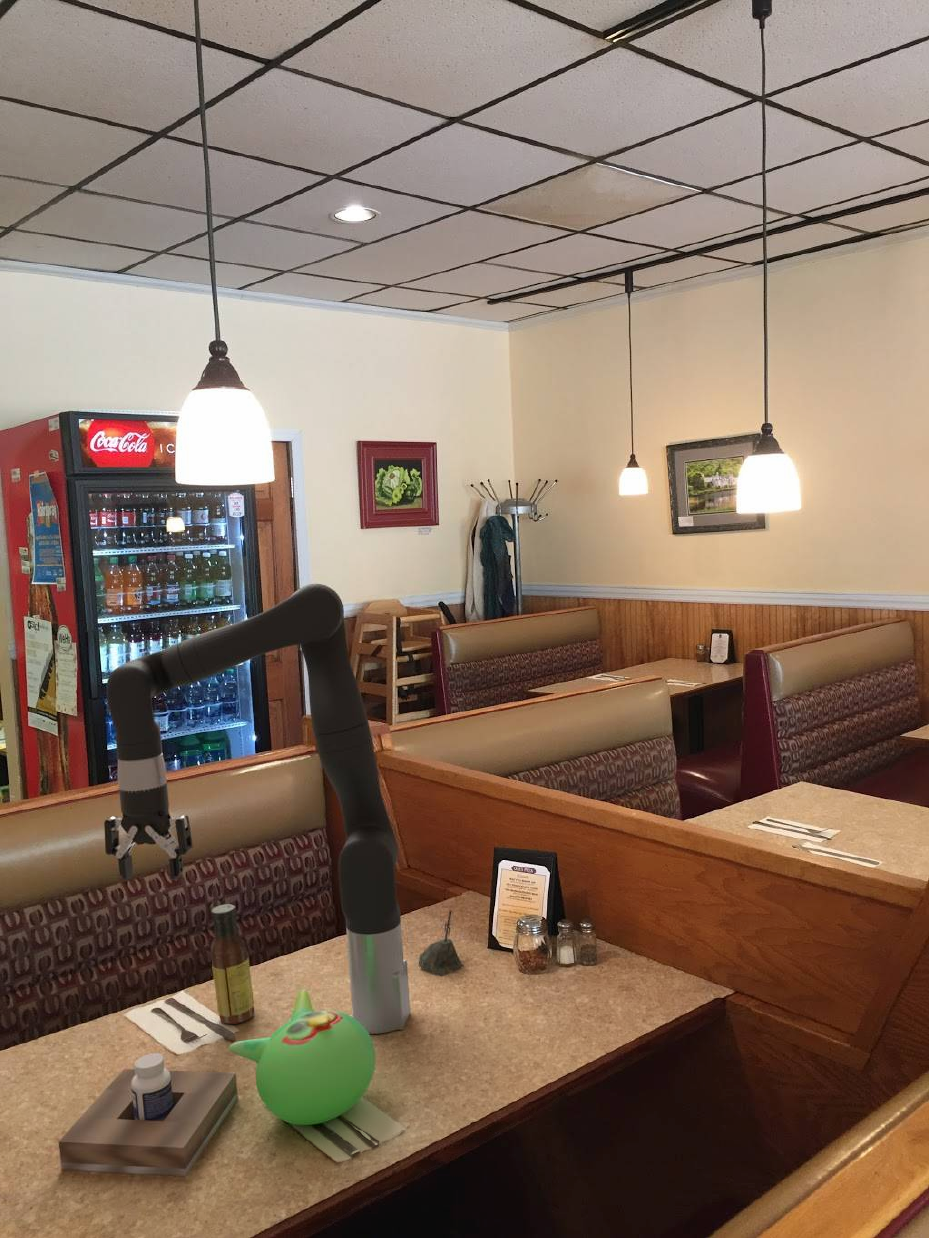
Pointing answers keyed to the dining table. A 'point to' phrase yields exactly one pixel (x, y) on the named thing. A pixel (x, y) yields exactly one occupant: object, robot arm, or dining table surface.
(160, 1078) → the pill bottle
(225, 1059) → the dining table surface
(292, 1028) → the toy bird
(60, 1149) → the socket block
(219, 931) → the sauce bottle
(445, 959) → the sword in stone
